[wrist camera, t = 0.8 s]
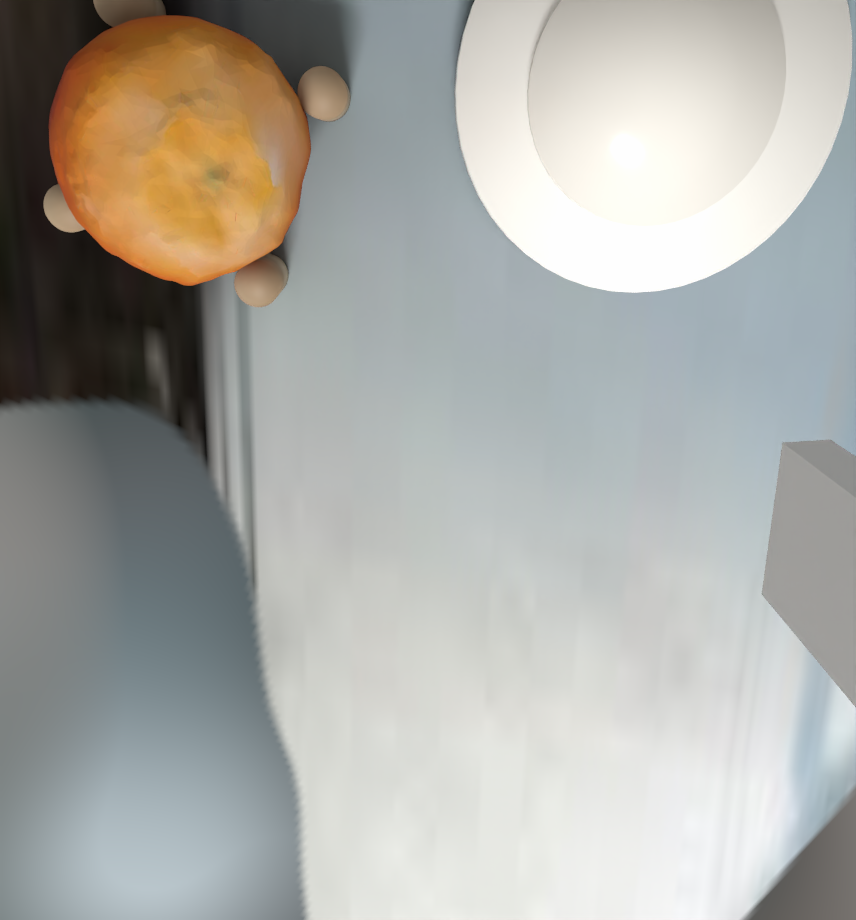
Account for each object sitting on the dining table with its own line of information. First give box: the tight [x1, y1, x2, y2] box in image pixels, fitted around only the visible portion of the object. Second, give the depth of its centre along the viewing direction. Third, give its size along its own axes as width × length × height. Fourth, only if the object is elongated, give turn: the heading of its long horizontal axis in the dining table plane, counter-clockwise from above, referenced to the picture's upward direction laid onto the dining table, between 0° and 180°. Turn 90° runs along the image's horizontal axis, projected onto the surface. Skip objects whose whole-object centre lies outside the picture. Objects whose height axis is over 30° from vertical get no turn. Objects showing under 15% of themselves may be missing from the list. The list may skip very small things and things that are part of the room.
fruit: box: [49, 15, 311, 285], centre depth 26 cm, size 8×8×8 cm
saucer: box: [454, 0, 852, 293], centre depth 28 cm, size 14×14×1 cm
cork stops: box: [44, 0, 350, 307], centre depth 28 cm, size 8×8×2 cm
